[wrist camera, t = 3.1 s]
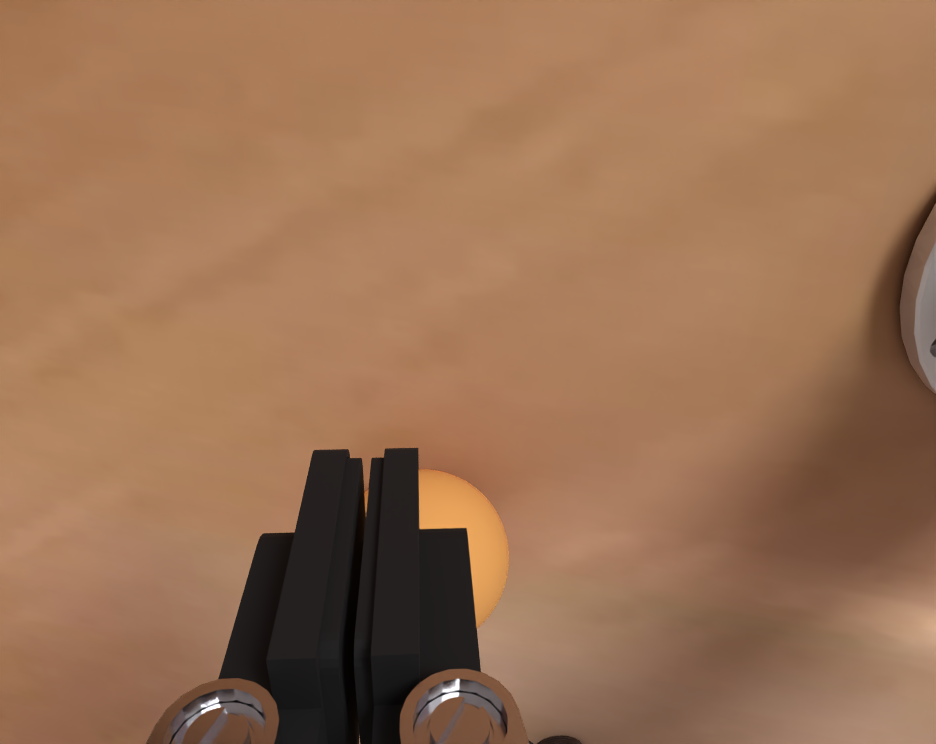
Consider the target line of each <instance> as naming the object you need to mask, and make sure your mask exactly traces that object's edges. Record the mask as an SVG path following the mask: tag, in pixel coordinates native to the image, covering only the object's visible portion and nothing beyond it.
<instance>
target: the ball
mask: <svg viewBox="0 0 936 744" xmlns="http://www.w3.org/2000/svg"><path fill="white" fill-rule="evenodd" d="M368 491H369V489H368V490H366V491H365V492H364V496H365V512H367V501H368ZM419 528H420V529H442V528H467V534H468V543H469V553H470V564H471V575H472V585H473V596H474V606H475V617H476V627H477V628H479V626H480V625H481V624H482V623H483V622H484V621H485V620H486V619H487V618H488V617H489V615H490V614H491V613H492V611H493V610H494V608H495V607H496V605H497V603H498V601H499V599H500V597H501V595H502V592H503V589H504V586H505V583H506V580H507V574H508V567H509V548H508V542H507V537H506V533H505V530H504V527H503V524H502V522H501V520H500V517H499V515H498V514H497V512H496V510H495V509H494V507H493V506H492V504H491V503H490V502H489V501H488V499H487V498H486V497H485V496H484V495H483V494H482V493H481V492H480V491H479V490H478V489H476V488H475V487H474V486H473V485H471V484H470V483H468V482H467V481H465V480H463V479H461V478H459V477H457V476H454V475H452V474H449V473H446V472H442V471H437V470H428V469H419Z"/></svg>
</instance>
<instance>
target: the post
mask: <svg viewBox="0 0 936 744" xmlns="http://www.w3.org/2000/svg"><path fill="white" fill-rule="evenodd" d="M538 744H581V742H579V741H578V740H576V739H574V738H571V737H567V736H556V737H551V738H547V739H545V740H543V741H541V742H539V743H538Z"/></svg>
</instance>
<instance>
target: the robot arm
mask: <svg viewBox="0 0 936 744" xmlns="http://www.w3.org/2000/svg"><path fill="white" fill-rule="evenodd" d="M900 321H901V334H902V340H903V343H904V346H905V349H906V352H907V355H908V358H909V361H910V364H911V365H912V367H913V368H914V370H915V371H916V373H917V374H918V376H919V377H920V379H921V380H922V382H923V383H924V385H925V386H926V387H928V388H929V389H930V390H931V391H932V392H933V393H935V394H936V203H935V205H934V207H933V209H932V211H931V213H930V215H929V217H928V218H927V220H926V222H925V224H924V226H923V228H922V230H921V232H920V233H919V235H918V237H917V239H916V242H915V245H914V248H913V251H912V254H911V257H910V259H909V262H908V265H907V268H906V271H905V274H904V280H903V287H902V294H901V301H900ZM359 734H360V744H533V743H531V742H530V741H529V740H528V738H527V734H526V731H525V728H524V725H523V721H522V718H521V715H520V712H519V709H518V707H517V705H516V703H515V701H514V699H513V697H512V695H511V693H510V692H509V691H508V690H507V689H506V688H505V687H504V686H503V685H502V684H501V683H500V682H499V681H497V680H496V679H494V678H492V677H490V676H488V675H487V674H485V673H482V672H481V669H480V659H479V648H478V638H477V627H476V617H475V606H474V596H473V585H472V575H471V564H470V553H469V543H468V534H467V528H442V529H420V528H419V465H418V448H392V449H385V454H384V458H372V460H371V470H370V480H369V491H368V501H367V512H365V496H364V480H363V465H362V459H361V458H350V454H349V450H348V449H342V450H314V451H313V454H312V458H311V463H310V467H309V472H308V476H307V480H306V485H305V489H304V494H303V498H302V503H301V507H300V512H299V516H298V520H297V525H296V529H295V533H264V534H262V535H261V536H260V539H259V541H258V544H257V547H256V550H255V554H254V557H253V561H252V564H251V568H250V571H249V575H248V578H247V582H246V585H245V589H244V592H243V596H242V599H241V603H240V606H239V610H238V613H237V616H236V620H235V623H234V627H233V630H232V634H231V637H230V641H229V644H228V648H227V651H226V655H225V658H224V662H223V665H222V669H221V672H220V676H219V679H218V680H215V681H212V682H208V683H205V684H202V685H199V686H198V687H196V688H194V689H192V690H191V691H189V692H187V693H185V694H183V695H182V696H181V697H180V698H179V699H178V700H176V701H175V702H174V703H173V704H172V705H171V706H170V707H169V708H167V709H166V711H165V712H164V714H163V715H162V717H161V718H160V719H159V721H158V722H157V724H156V725H155V727H154V729H153V731H152V733H151V735H150V736H149V738H148V740H147V742H146V744H359Z"/></svg>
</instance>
